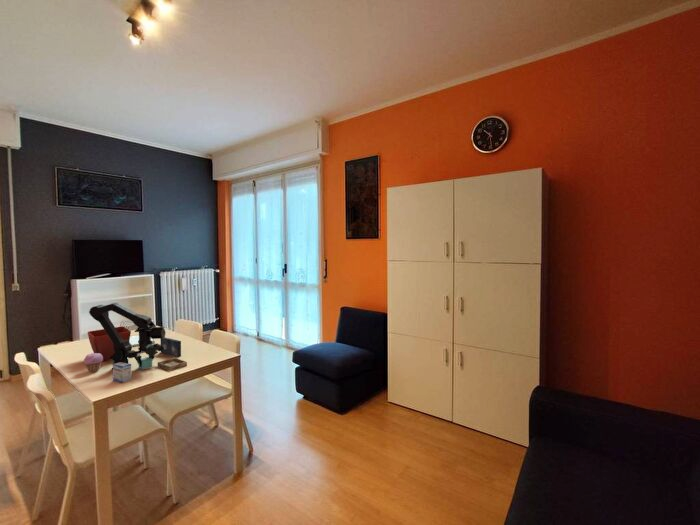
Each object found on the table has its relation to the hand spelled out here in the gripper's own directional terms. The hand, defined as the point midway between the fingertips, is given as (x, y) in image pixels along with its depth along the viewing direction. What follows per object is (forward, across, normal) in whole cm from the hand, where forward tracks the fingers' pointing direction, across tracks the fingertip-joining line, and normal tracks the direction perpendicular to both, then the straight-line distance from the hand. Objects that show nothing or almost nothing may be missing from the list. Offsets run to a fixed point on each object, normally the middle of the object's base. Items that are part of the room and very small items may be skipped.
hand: (145, 365), depth 194 cm
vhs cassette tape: (+1, +21, +12) cm, 24 cm away
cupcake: (+1, -19, +18) cm, 26 cm away
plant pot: (+1, -4, +37) cm, 37 cm away
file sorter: (+1, +22, +61) cm, 65 cm away
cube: (+1, 0, 0) cm, 1 cm away
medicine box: (+1, -16, -10) cm, 19 cm away
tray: (+1, +10, -10) cm, 14 cm away
